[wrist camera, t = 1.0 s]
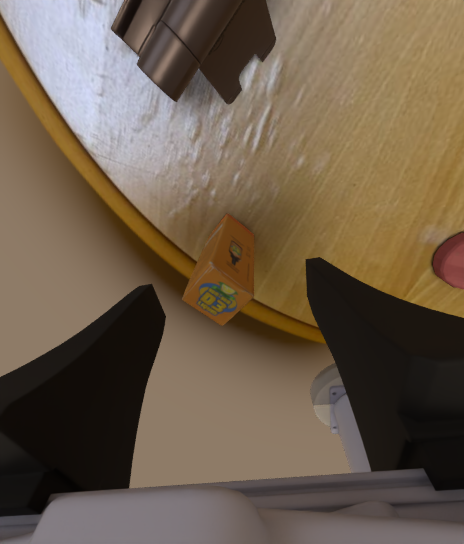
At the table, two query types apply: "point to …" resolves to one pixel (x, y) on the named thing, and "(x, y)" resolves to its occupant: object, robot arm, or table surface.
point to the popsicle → (451, 261)
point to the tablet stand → (195, 40)
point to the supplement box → (223, 272)
